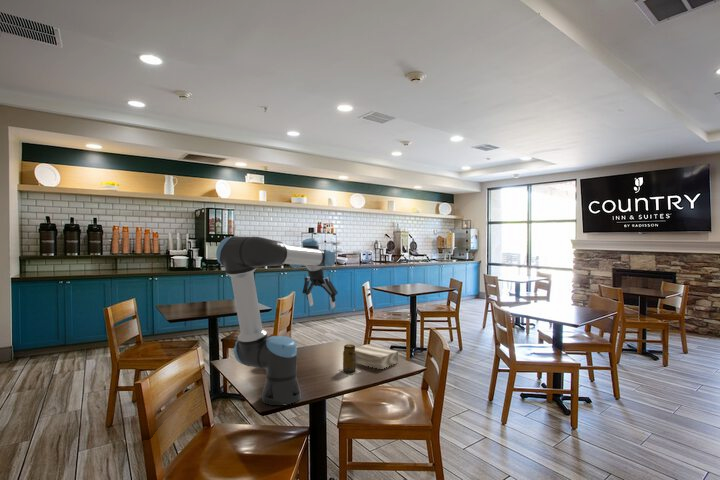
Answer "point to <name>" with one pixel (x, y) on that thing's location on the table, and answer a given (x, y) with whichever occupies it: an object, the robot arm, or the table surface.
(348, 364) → the condiment
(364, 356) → the block
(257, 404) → the table surface
